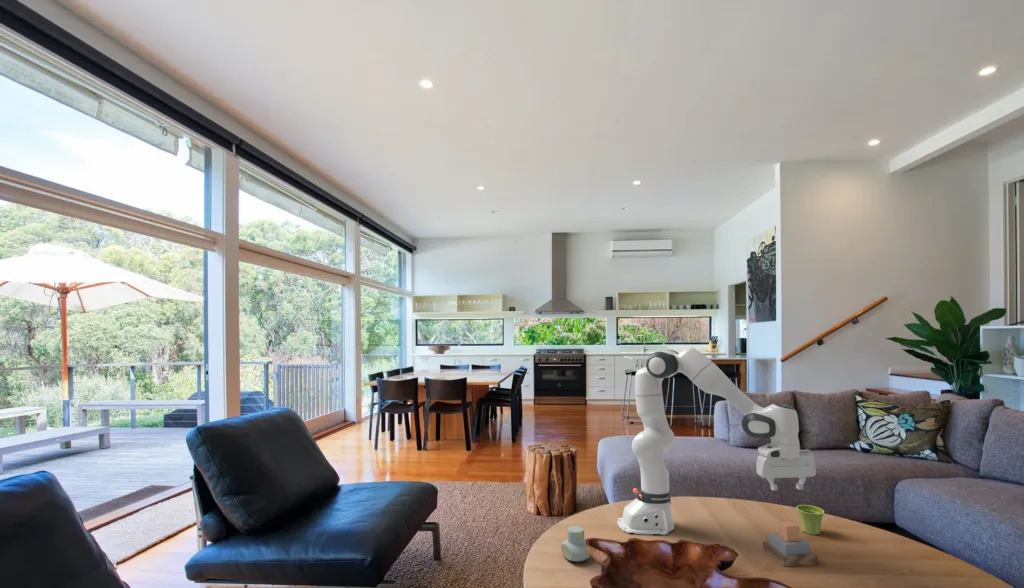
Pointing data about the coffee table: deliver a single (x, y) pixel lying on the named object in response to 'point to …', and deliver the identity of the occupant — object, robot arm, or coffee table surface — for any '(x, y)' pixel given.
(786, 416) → the robot arm
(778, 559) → the lower tower block
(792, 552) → the upper tower block
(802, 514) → the plant pot
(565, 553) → the air freshener
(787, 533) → the rust cube
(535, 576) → the coffee table surface
